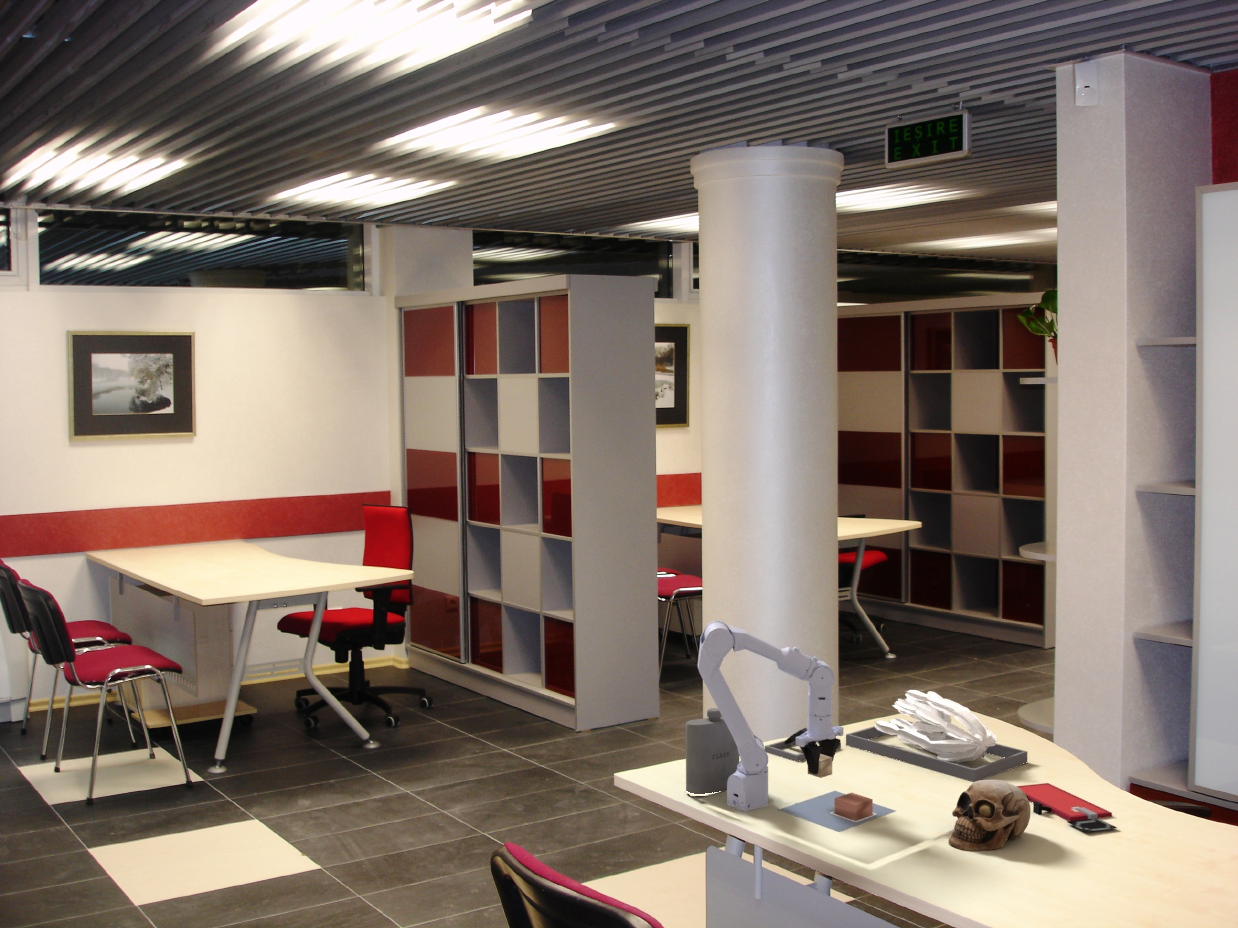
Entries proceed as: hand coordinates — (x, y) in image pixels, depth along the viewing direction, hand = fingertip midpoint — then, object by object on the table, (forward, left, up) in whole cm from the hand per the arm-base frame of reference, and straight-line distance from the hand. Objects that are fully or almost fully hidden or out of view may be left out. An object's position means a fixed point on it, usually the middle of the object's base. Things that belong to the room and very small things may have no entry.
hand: (819, 770), depth 272 cm
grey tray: (+54, +7, -8) cm, 55 cm away
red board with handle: (+41, -37, -9) cm, 56 cm away
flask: (-11, +24, -9) cm, 28 cm away
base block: (0, -10, -7) cm, 12 cm away
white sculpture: (+55, +7, -9) cm, 56 cm away
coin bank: (+12, -37, -9) cm, 40 cm away
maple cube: (0, 0, -1) cm, 1 cm away
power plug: (+29, +33, -9) cm, 45 cm away
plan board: (-1, -6, -8) cm, 10 cm away
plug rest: (+30, +32, -8) cm, 45 cm away
